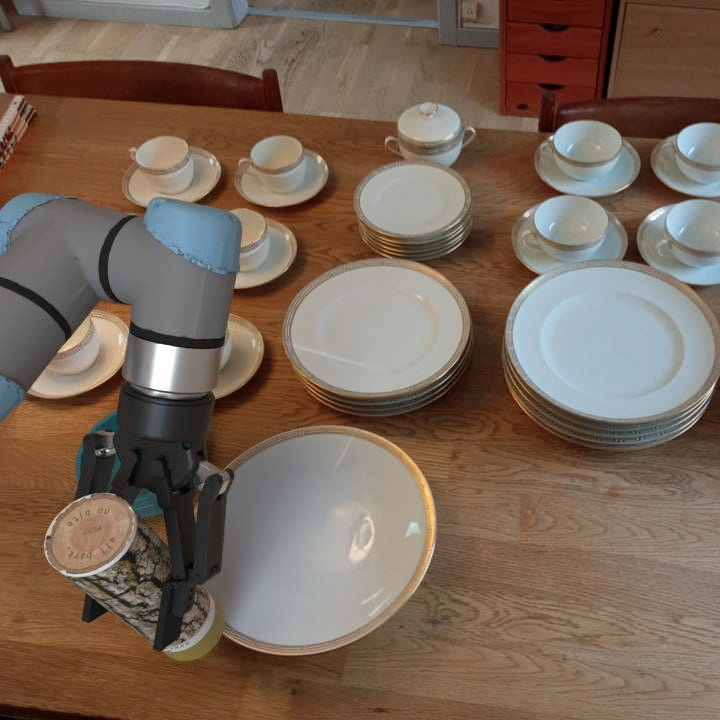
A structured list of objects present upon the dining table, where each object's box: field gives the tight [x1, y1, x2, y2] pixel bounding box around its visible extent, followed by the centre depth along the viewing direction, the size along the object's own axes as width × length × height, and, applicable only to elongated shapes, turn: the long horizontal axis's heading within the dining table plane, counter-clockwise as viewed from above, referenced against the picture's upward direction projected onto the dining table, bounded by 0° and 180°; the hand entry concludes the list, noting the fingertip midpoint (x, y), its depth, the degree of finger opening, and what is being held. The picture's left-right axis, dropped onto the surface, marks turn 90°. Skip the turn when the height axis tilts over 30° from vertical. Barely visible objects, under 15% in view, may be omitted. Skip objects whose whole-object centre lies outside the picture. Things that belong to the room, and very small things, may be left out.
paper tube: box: [43, 493, 226, 662], centre depth 67 cm, size 7×7×25 cm
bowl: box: [74, 409, 209, 520], centre depth 90 cm, size 14×14×4 cm
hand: (131, 628), depth 66 cm, fingers closed on paper tube, 7 cm apart
